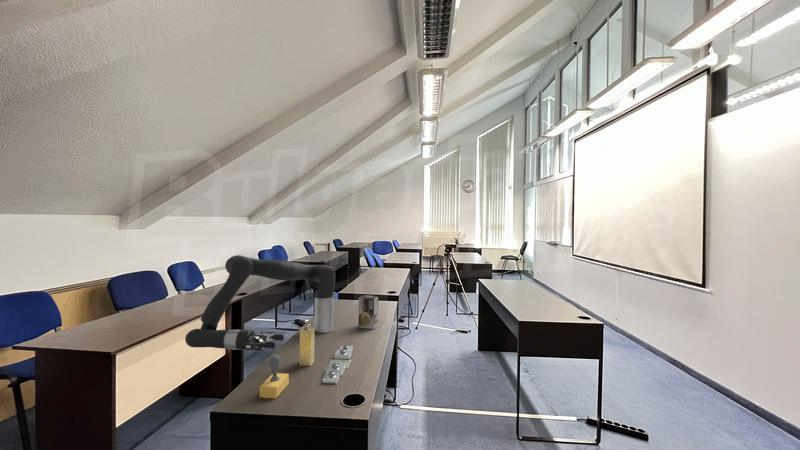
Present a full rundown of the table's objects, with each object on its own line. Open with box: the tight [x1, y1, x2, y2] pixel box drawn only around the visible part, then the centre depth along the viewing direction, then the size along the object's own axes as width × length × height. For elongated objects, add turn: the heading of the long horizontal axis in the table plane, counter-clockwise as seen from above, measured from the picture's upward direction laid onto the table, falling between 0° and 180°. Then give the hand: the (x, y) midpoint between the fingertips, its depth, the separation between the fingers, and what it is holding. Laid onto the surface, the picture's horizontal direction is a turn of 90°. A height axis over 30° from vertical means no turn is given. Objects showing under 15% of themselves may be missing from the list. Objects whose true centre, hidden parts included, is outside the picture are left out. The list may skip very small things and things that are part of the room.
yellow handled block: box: [259, 354, 290, 400], centre depth 116 cm, size 10×6×12 cm, turn 175°
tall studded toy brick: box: [299, 323, 316, 367], centre depth 138 cm, size 4×4×15 cm
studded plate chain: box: [322, 344, 354, 384], centre depth 137 cm, size 32×8×3 cm, turn 178°
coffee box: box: [358, 294, 379, 330], centre depth 185 cm, size 9×6×16 cm
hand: (279, 341), depth 138 cm, fingers open, 8 cm apart
